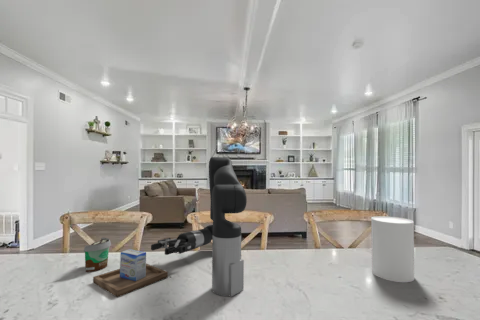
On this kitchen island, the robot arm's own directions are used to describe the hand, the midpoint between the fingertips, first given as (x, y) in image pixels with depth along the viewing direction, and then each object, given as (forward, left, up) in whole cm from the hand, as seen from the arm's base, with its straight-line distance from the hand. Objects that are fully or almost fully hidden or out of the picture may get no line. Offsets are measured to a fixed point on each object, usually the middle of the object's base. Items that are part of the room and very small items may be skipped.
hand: (158, 249), depth 99 cm
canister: (-70, -51, -8) cm, 87 cm away
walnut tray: (0, +11, -8) cm, 13 cm away
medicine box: (0, +10, -7) cm, 12 cm away
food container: (+20, +12, -8) cm, 25 cm away
